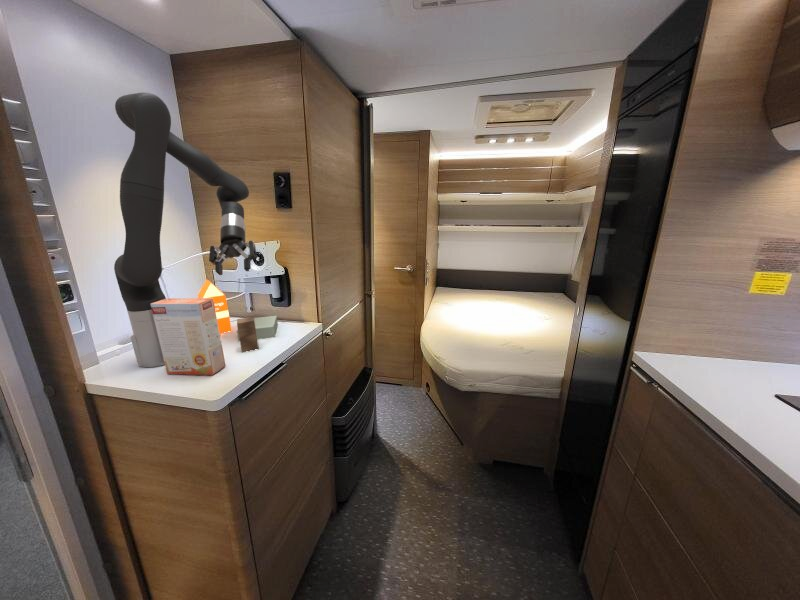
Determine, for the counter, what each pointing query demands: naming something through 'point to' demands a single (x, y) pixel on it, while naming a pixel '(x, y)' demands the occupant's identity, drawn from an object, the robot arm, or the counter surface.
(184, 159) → the robot arm
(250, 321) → the walnut block
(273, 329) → the green base
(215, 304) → the orange juice
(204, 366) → the cracker box
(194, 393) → the counter surface
